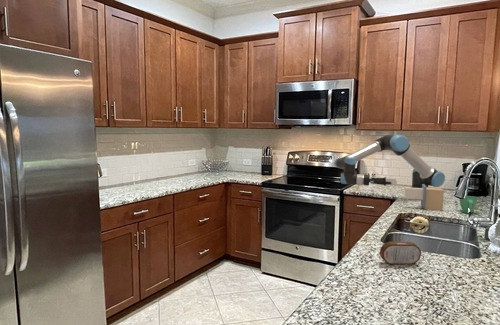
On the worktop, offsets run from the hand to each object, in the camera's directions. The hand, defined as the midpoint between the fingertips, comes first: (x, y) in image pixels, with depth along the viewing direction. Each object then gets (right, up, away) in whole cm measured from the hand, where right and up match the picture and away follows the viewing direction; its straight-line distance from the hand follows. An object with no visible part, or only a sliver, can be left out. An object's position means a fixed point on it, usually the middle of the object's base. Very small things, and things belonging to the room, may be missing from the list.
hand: (396, 182), depth 225 cm
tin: (-42, -26, -99) cm, 110 cm away
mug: (+38, -19, -16) cm, 46 cm away
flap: (+12, -16, 0) cm, 20 cm away
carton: (+23, -18, -4) cm, 29 cm away
